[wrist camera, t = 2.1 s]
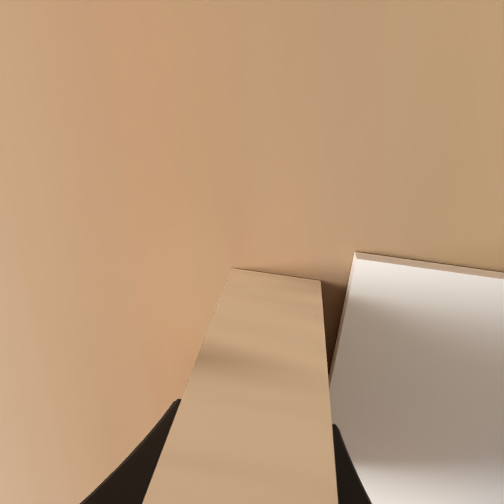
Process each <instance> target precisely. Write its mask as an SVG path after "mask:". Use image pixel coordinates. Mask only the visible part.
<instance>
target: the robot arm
mask: <svg viewBox="0 0 504 504" xmlns="http://www.w3.org/2000/svg"><path fill="white" fill-rule="evenodd" d="M181 400H182V399H177V400H176V401H174V402H173V403H172V405H171V406H170V408H169V409H168V410H167V412H166V413H165V414H164V415H163V417H162V418H161V419H160V421H159V422H158V423H157V424H156V425H155V427H154V428H153V429H152V430H151V431H150V433H149V434H148V435H147V436H146V437H145V438H144V440H143V441H142V442H141V443H140V444H139V445H138V446H137V447H136V448H135V449H134V450H133V452H132V453H131V454H130V455H129V456H128V457H127V458H126V459H125V460H124V461H123V462H122V463H121V464H120V465H119V467H118V468H117V469H116V470H114V471H113V472H112V473H111V474H110V475H109V476H108V477H107V478H106V479H105V480H104V481H103V482H102V483H101V484H100V485H99V486H98V487H97V488H96V489H95V490H94V491H93V492H92V493H91V494H90V495H89V496H88V497H87V498H85V499H84V500H83V501H82V502H81V503H80V504H142V503H143V500H144V498H145V495H146V492H147V490H148V487H149V484H150V482H151V479H152V476H153V474H154V471H155V468H156V466H157V463H158V461H159V458H160V455H161V453H162V450H163V447H164V445H165V442H166V439H167V437H168V434H169V431H170V429H171V426H172V423H173V421H174V418H175V415H176V413H177V410H178V407H179V405H180V402H181ZM332 432H333V444H334V457H335V470H336V482H337V495H338V504H372V503H371V501H370V499H369V497H368V495H367V493H366V491H365V489H364V487H363V485H362V482H361V480H360V478H359V476H358V474H357V472H356V469H355V467H354V465H353V463H352V460H351V458H350V456H349V453H348V451H347V449H346V446H345V443H344V441H343V438H342V436H341V433H340V430H339V428H338V427H337V426H336V424H332Z"/></svg>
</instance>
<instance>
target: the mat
mask: <svg viewBox="0 0 504 504" xmlns="http://www.w3.org/2000/svg"><path fill="white" fill-rule="evenodd" d="M328 381H329V393H330V406H331V419H332V424H336V426H337V427H338V428H339V430H340V433H341V436H342V438H343V441H344V443H345V446H346V449H347V451H348V453H349V456H350V458H351V460H352V463H353V465H354V467H355V469H356V472H357V474H358V476H359V478H360V480H361V482H362V485H363V487H364V489H365V491H366V493H367V495H368V497H369V499H370V501H371V503H372V504H504V272H497V271H489V270H482V269H475V268H468V267H461V266H453V265H446V264H439V263H432V262H425V261H418V260H410V259H403V258H396V257H389V256H382V255H374V254H367V253H360V252H355V253H354V257H353V262H352V267H351V272H350V277H349V282H348V287H347V292H346V296H345V301H344V306H343V311H342V316H341V321H340V326H339V330H338V335H337V340H336V345H335V350H334V355H333V360H332V364H331V369H330V374H329V379H328Z"/></svg>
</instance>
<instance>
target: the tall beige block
mask: <svg viewBox="0 0 504 504" xmlns="http://www.w3.org/2000/svg"><path fill="white" fill-rule="evenodd" d="M142 504H338V495H337V482H336V470H335V457H334V444H333V432H332V419H331V406H330V393H329V381H328V368H327V355H326V343H325V330H324V317H323V305H322V292H321V281H319V280H312V279H305V278H298V277H291V276H284V275H277V274H270V273H263V272H256V271H249V270H242V269H235V268H231V270H230V272H229V275H228V278H227V280H226V283H225V286H224V288H223V291H222V293H221V296H220V299H219V301H218V304H217V307H216V309H215V312H214V315H213V317H212V320H211V323H210V325H209V328H208V331H207V333H206V336H205V339H204V341H203V344H202V347H201V349H200V352H199V354H198V357H197V360H196V362H195V365H194V368H193V370H192V373H191V376H190V378H189V381H188V384H187V386H186V389H185V392H184V394H183V397H182V400H181V402H180V405H179V407H178V410H177V413H176V415H175V418H174V421H173V423H172V426H171V429H170V431H169V434H168V437H167V439H166V442H165V445H164V447H163V450H162V453H161V455H160V458H159V461H158V463H157V466H156V468H155V471H154V474H153V476H152V479H151V482H150V484H149V487H148V490H147V492H146V495H145V498H144V500H143V503H142Z"/></svg>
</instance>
